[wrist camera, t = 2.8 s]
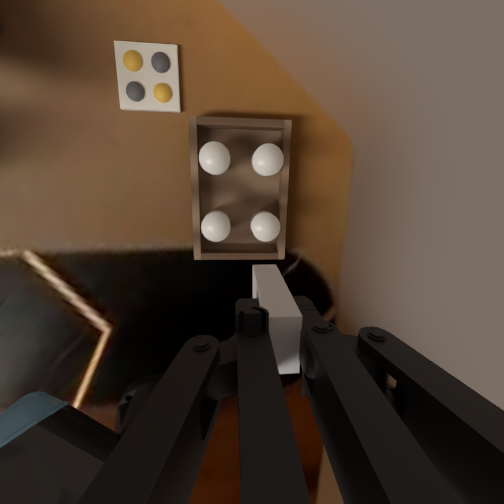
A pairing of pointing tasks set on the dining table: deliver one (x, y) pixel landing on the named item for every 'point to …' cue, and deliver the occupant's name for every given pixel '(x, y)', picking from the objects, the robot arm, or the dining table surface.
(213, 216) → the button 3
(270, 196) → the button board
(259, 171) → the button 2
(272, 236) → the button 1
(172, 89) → the pattern card
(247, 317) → the robot arm
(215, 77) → the dining table surface
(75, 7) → the dining table surface
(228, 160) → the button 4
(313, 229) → the dining table surface
